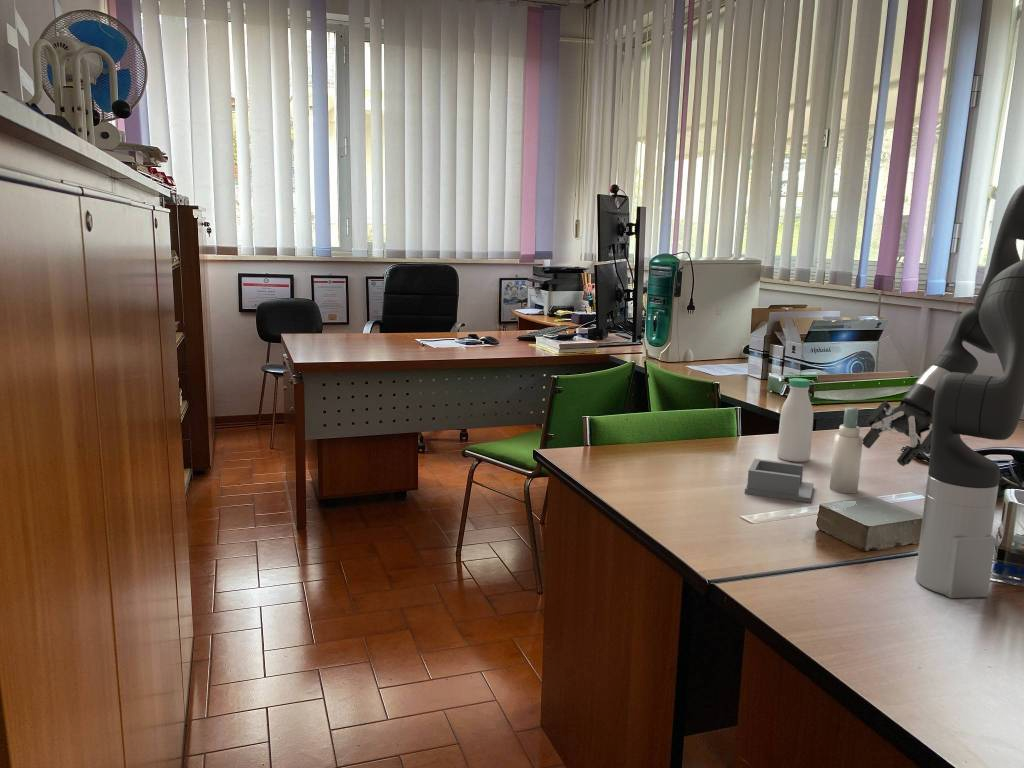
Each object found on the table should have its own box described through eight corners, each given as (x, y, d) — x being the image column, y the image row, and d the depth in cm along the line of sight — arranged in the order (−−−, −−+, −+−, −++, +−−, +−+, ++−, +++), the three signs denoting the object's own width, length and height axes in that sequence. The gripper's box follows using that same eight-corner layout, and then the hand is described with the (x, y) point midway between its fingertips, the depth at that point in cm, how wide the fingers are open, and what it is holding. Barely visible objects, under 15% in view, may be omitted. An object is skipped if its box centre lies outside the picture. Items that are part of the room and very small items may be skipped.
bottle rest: (810, 502, 152) (812, 479, 151) (744, 493, 157) (746, 470, 157) (813, 487, 162) (815, 465, 161) (751, 479, 167) (753, 457, 166)
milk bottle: (812, 463, 180) (819, 382, 177) (779, 461, 182) (785, 381, 178) (806, 455, 188) (813, 377, 184) (774, 453, 189) (781, 375, 185)
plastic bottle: (862, 493, 159) (871, 411, 155) (837, 493, 158) (846, 411, 155) (848, 484, 164) (857, 405, 161) (824, 485, 164) (832, 405, 160)
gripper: (970, 415, 148) (919, 478, 148) (909, 390, 160) (861, 448, 160) (957, 396, 144) (904, 461, 144) (895, 371, 156) (847, 432, 156)
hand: (882, 454), depth 152 cm, fingers open, 8 cm apart
